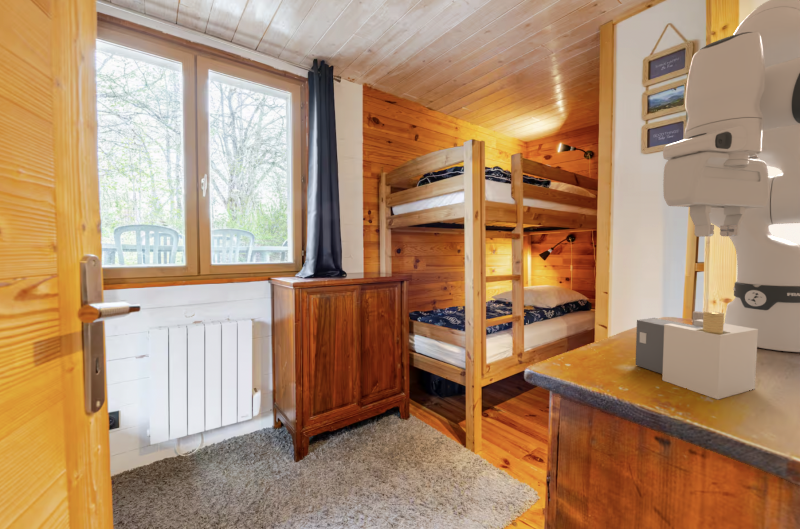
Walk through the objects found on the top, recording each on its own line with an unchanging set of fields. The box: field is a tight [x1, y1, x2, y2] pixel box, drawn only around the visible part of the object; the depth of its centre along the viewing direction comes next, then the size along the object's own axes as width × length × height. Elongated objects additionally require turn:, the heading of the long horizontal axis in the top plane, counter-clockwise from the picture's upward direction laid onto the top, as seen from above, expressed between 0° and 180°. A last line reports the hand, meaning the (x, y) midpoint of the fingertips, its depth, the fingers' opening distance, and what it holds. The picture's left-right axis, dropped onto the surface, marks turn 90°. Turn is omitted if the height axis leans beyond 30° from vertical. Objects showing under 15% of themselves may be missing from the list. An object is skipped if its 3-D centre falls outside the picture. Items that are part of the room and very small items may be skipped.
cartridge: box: [635, 317, 703, 375], centre depth 63 cm, size 5×9×9 cm, turn 20°
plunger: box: [703, 310, 725, 335], centre depth 55 cm, size 2×2×6 cm
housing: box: [662, 319, 758, 400], centre depth 58 cm, size 10×8×10 cm
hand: (716, 236), depth 54 cm, fingers open, 5 cm apart
